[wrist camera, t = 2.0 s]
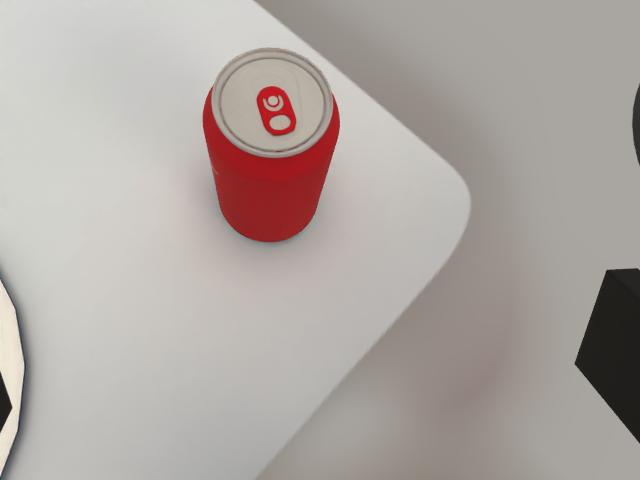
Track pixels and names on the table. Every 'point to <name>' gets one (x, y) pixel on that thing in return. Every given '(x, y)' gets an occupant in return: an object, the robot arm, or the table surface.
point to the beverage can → (270, 141)
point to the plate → (10, 371)
